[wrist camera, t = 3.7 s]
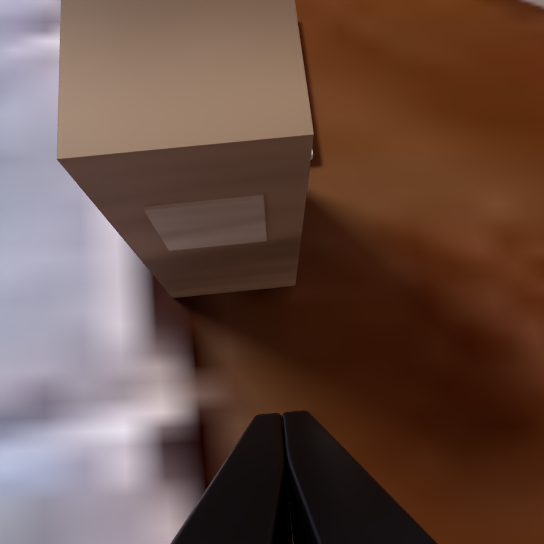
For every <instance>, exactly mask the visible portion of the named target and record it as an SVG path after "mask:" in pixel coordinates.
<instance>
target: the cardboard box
mask: <svg viewBox="0 0 544 544" xmlns="http://www.w3.org/2000/svg"><path fill="white" fill-rule="evenodd" d="M313 137H314V132H313V125H312V118H311V111H310V104H309V97H308V91H307V84H306V77H305V70H304V63H303V56H302V49H301V42H300V35H299V28H298V21H297V14H296V7H295V0H61V22H60V59H59V96H58V133H57V160H58V161H59V162H60V164H61V165H62V166H63V167H64V168H65V170H66V171H67V172H68V173H69V174H70V175H71V177H72V178H73V179H74V180H75V181H76V183H77V184H78V185H79V186H80V187H81V189H82V190H83V191H84V192H85V193H86V195H87V196H88V197H89V198H90V199H91V201H92V202H93V203H94V204H95V205H96V207H97V208H98V209H99V210H100V211H101V213H102V214H103V215H104V216H105V217H106V219H107V220H108V221H109V222H110V223H111V225H112V226H113V227H114V228H115V229H116V231H117V232H118V233H119V234H120V235H121V237H122V238H123V239H124V240H125V241H126V243H127V244H128V245H129V246H130V247H131V249H132V250H133V251H134V252H135V253H136V255H137V256H138V257H139V258H140V259H141V261H142V262H143V263H144V264H145V265H146V267H147V268H148V269H149V270H150V271H151V273H152V274H153V275H154V276H155V277H156V279H157V280H158V281H159V282H160V283H161V285H162V286H163V287H164V288H165V289H166V291H167V292H168V293H169V294H170V295H171V297H172V298H179V297H189V296H199V295H209V294H219V293H229V292H239V291H248V290H258V289H268V288H278V287H288V286H296V278H297V269H298V261H299V253H300V245H301V236H302V228H303V220H304V211H305V203H306V195H307V187H308V178H309V170H310V162H311V153H312V145H313Z"/></svg>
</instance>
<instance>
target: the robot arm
mask: <svg viewBox="0 0 544 544" xmlns="http://www.w3.org/2000/svg"><path fill="white" fill-rule="evenodd" d="M282 424H283V427H282ZM283 436H284V437H283ZM288 492H289V493H288ZM289 503H290V504H289ZM290 514H291V516H290ZM291 525H292V528H291ZM292 535H293V541H292ZM171 544H437V543H436V542H435V541H434V540H433V539H432V538H431V537H430V536H429V535H428V534H427V533H426V532H425V531H424V530H423V528H422V527H421V526H420V525H419V524H418V523H417V522H416V521H415V520H414V519H413V518H412V517H411V516H410V515H409V514H408V513H407V512H406V511H405V510H404V509H403V508H402V507H401V506H400V505H399V504H398V503H397V502H396V501H395V500H394V499H393V498H392V497H391V496H390V495H389V494H388V493H387V492H386V491H385V490H384V489H383V488H382V487H381V486H380V485H379V484H378V483H377V482H376V480H375V479H374V478H373V477H372V476H371V475H370V474H369V473H368V472H367V471H366V470H365V469H364V468H363V467H362V466H361V465H360V464H359V463H358V462H357V461H356V460H355V459H354V458H353V457H352V456H351V455H350V454H349V453H348V452H347V451H346V450H345V449H344V448H343V447H342V446H341V445H340V444H339V443H338V442H337V441H336V440H335V439H334V438H333V437H332V436H331V435H330V434H329V432H328V431H327V430H326V429H325V428H324V427H323V426H322V425H321V424H320V423H319V422H318V421H317V420H316V419H315V418H314V417H313V416H312V415H311V414H310V413H309V412H307V411H293V412H285V413H284V414H283V415H282V417H281V415H280V414H278V413H271V414H260V415H256V416H255V417H254V419H253V420H252V422H251V423H250V425H249V426H248V428H247V429H246V431H245V432H244V434H243V435H242V437H241V438H240V440H239V441H238V443H237V444H236V446H235V447H234V449H233V450H232V452H231V453H230V455H229V456H228V458H227V459H226V461H225V462H224V464H223V465H222V467H221V468H220V470H219V471H218V473H217V474H216V476H215V477H214V479H213V480H212V482H211V483H210V485H209V486H208V488H207V489H206V491H205V492H204V494H203V495H202V497H201V498H200V500H199V502H198V503H197V505H196V506H195V508H194V509H193V511H192V512H191V514H190V515H189V517H188V518H187V520H186V521H185V523H184V524H183V526H182V527H181V529H180V530H179V532H178V533H177V535H176V536H175V538H174V539H173V541H172V542H171Z"/></svg>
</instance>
